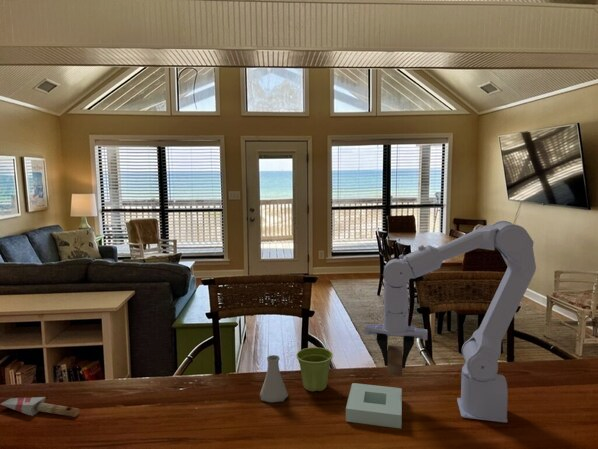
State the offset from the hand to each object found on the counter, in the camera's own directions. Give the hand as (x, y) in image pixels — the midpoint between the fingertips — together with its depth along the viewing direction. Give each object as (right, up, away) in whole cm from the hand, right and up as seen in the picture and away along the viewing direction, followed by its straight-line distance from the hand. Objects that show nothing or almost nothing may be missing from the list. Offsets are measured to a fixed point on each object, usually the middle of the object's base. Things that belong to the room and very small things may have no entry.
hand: (394, 365), depth 97 cm
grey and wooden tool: (-84, -11, -2) cm, 85 cm away
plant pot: (-19, -9, +9) cm, 23 cm away
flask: (-29, -9, +4) cm, 31 cm away
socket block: (-5, -9, -3) cm, 11 cm away
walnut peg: (0, -2, 0) cm, 2 cm away
